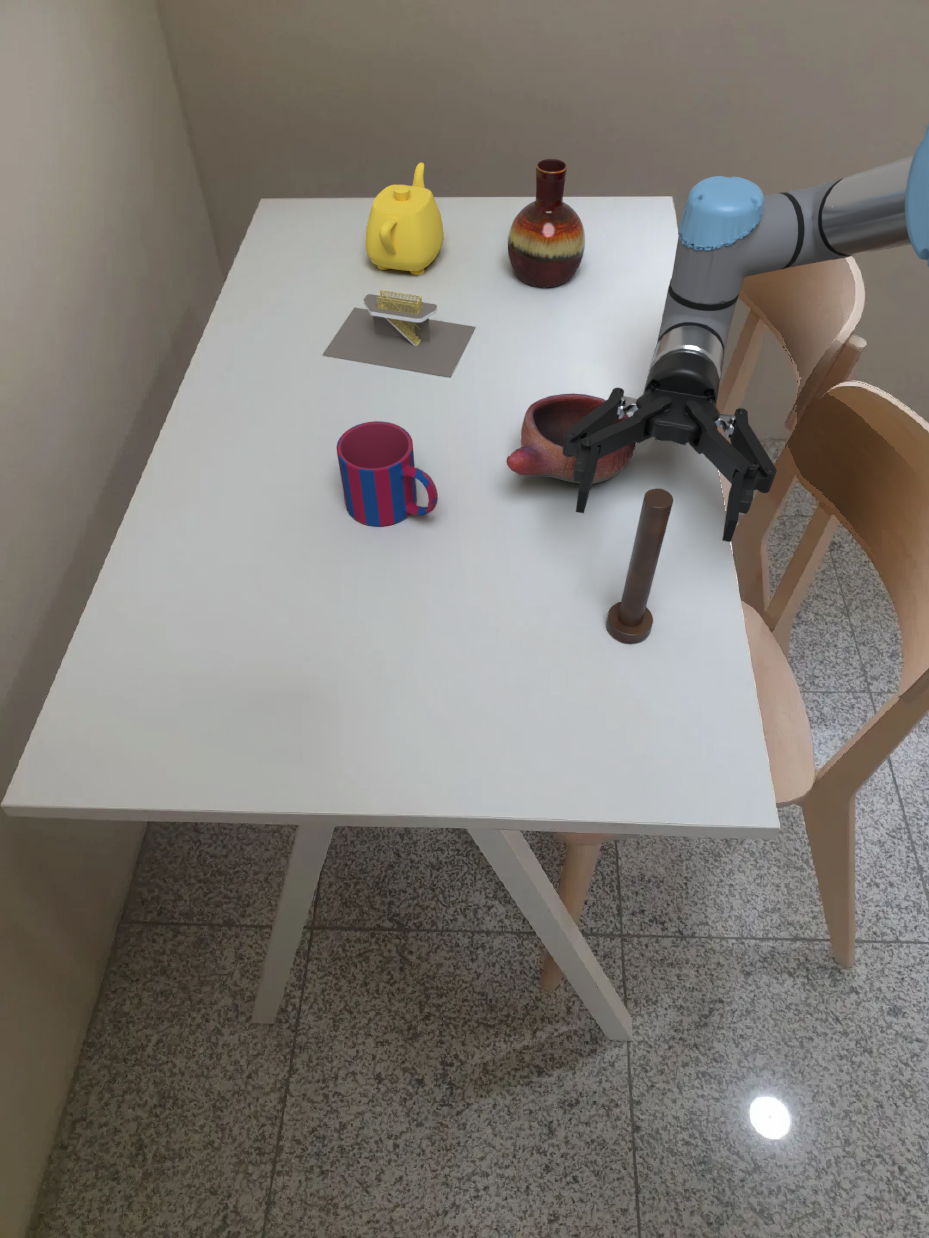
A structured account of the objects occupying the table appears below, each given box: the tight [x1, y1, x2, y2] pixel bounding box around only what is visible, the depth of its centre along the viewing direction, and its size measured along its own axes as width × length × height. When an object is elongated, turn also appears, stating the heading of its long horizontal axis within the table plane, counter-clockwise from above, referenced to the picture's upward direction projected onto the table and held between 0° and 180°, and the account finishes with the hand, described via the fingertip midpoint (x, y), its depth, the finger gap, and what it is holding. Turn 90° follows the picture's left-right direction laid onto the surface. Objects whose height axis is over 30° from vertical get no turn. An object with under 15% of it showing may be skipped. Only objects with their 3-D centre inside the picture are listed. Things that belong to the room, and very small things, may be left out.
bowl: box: [506, 392, 637, 484], centre depth 94 cm, size 16×13×8 cm
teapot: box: [365, 162, 445, 276], centre depth 123 cm, size 18×11×11 cm, turn 164°
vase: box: [507, 158, 586, 288], centre depth 118 cm, size 11×11×15 cm
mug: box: [336, 420, 439, 527], centre depth 91 cm, size 8×12×8 cm, turn 46°
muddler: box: [605, 487, 674, 645], centre depth 76 cm, size 4×4×18 cm
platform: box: [321, 289, 476, 378], centre depth 111 cm, size 12×18×7 cm, turn 73°
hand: (654, 516), depth 77 cm, fingers open, 13 cm apart
